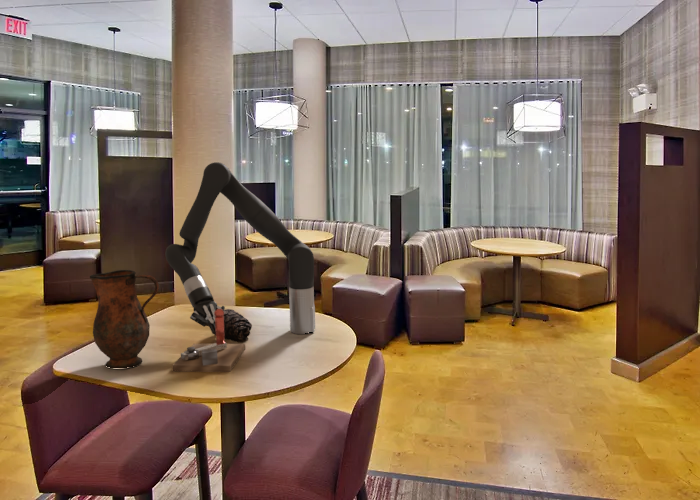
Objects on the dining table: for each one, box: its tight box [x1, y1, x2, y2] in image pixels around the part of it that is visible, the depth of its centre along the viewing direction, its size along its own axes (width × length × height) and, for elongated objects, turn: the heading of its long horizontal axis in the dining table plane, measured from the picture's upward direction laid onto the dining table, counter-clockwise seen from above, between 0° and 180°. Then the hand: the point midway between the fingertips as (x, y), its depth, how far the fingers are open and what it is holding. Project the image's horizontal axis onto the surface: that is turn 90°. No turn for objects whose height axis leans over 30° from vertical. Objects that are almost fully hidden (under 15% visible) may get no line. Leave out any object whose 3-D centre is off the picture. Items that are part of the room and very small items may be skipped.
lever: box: [180, 309, 228, 360], centre depth 174 cm, size 16×4×14 cm, turn 137°
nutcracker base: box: [171, 343, 247, 373], centre depth 175 cm, size 18×20×6 cm
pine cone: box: [224, 308, 253, 344], centre depth 198 cm, size 10×18×10 cm, turn 52°
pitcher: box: [89, 269, 160, 369], centre depth 170 cm, size 17×21×30 cm
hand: (218, 334), depth 180 cm, fingers closed
